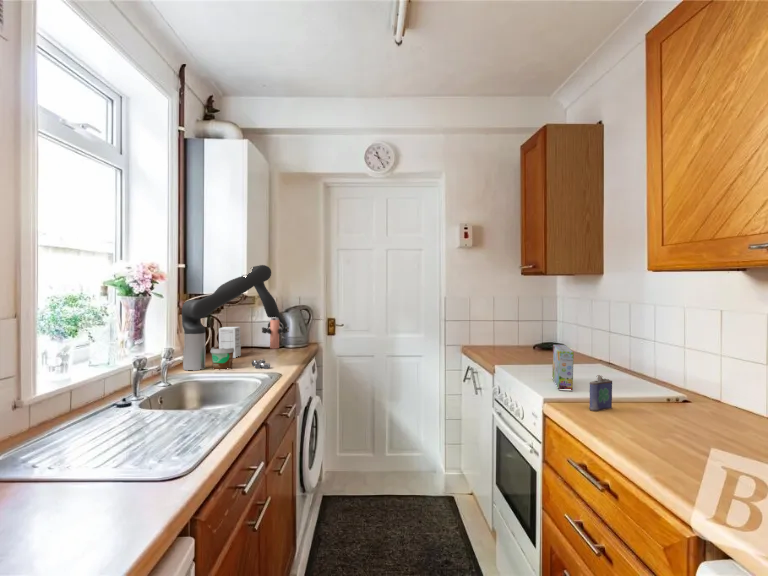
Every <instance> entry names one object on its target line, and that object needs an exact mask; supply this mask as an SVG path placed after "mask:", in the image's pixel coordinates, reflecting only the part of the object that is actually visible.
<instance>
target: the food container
mask: <svg viewBox="0 0 768 576" xmlns="http://www.w3.org/2000/svg"><path fill="white" fill-rule="evenodd" d="M209 352H210V354H211V360H212V361H211V362H212V369H213V368H214V369H213V370H215V369H225V370H228V369H227V368H231V369H233V360H234V358H233V352H234V348H229V349H224V348H222V349H219V348H215V346H213V347H211V348H210V351H209Z"/></svg>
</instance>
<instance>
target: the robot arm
mask: <svg viewBox="0 0 768 576" xmlns="http://www.w3.org/2000/svg"><path fill="white" fill-rule="evenodd" d="M252 267H253V269H252V272H251V273H249V272H248V273H247V274H248V275H247V274H246V275H247V277H246V278H245V277H243V276H244V275H241V276H238V277H235V278H232V279H230V280H228V281H226V282H224V283H223V284H220V286H218V287H217V288H216V290H215V291H213V293H211V294H210V295H207V296H205V297H204V298H201V299H188V300H186V301H185V302H184V303H183V304H182V307H181V322H182V324H181V325H182V328H183V333H184V335H183V338H184V339H183V343H184V346H183V349H182V357H184V360H183V359H182V370H184V371H188V370H193V371H201V370H200V369H202V370H204V368H205V369H206V327H205V326H204V325H203V324H202V319H204V318H206V317H207V316H208V315H210V314H211V313H212V312H214V311H215V310H217V309H219V308H220V307H221V306H223V305H225V304H227V303H229V302H231V301H233V300H234V299H236V298H238V297H240V296H241V295H243V294H245V292H247V291H249V290H251V289H252V288H255V290H256V293H257V294H258V296H259V298H260V300H261V303H262V306H263V309H264V311H265V313H266V317H268V318H279V336H281V335H282V334H287V333H289V332H290V331H289V329H290V328H289V326H288V324H287V321H286V320H285V318H284V317H283V316H282V313H280V310H279V307H278V305H277V301H276V299H275V298H274V297H273V295H272V294H271V293H270V292H269V290H268V289H267V287H266V285H265V282H268V280H269V279H270V278H271V276H272V270H271V269H272V268H270V267H269V266H268V265H265V264H259V265H255V266H252ZM261 333H262V334H268V335H270V321H268V323H267V327H264V326H263V327H261Z"/></svg>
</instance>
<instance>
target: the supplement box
mask: <svg viewBox="0 0 768 576" xmlns="http://www.w3.org/2000/svg"><path fill="white" fill-rule="evenodd" d="M241 345H242V342H241V326H223V327H220V328H218V349H222V348H224V349H229V348H234V352H233V359H237V358H238V356H239V357H241V356H242V353H241V352H242V351H241V350H242V349H241V348H242V347H241ZM236 357H237V358H236Z"/></svg>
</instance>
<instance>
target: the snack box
mask: <svg viewBox="0 0 768 576" xmlns="http://www.w3.org/2000/svg"><path fill="white" fill-rule="evenodd" d="M574 355H575V352H574V351H573V350H572V349H570V347H568V346H567V345H564V344H552V377H553V379H554V381H555V383H556V384H555V383H554V384H555V386H556V385H557V386H556V388H557V387H558V388H559V389H571V390H573V389H574V358H575V357H574ZM553 379H552V380H553ZM554 381H553V382H554ZM558 388H557V389H558Z"/></svg>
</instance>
